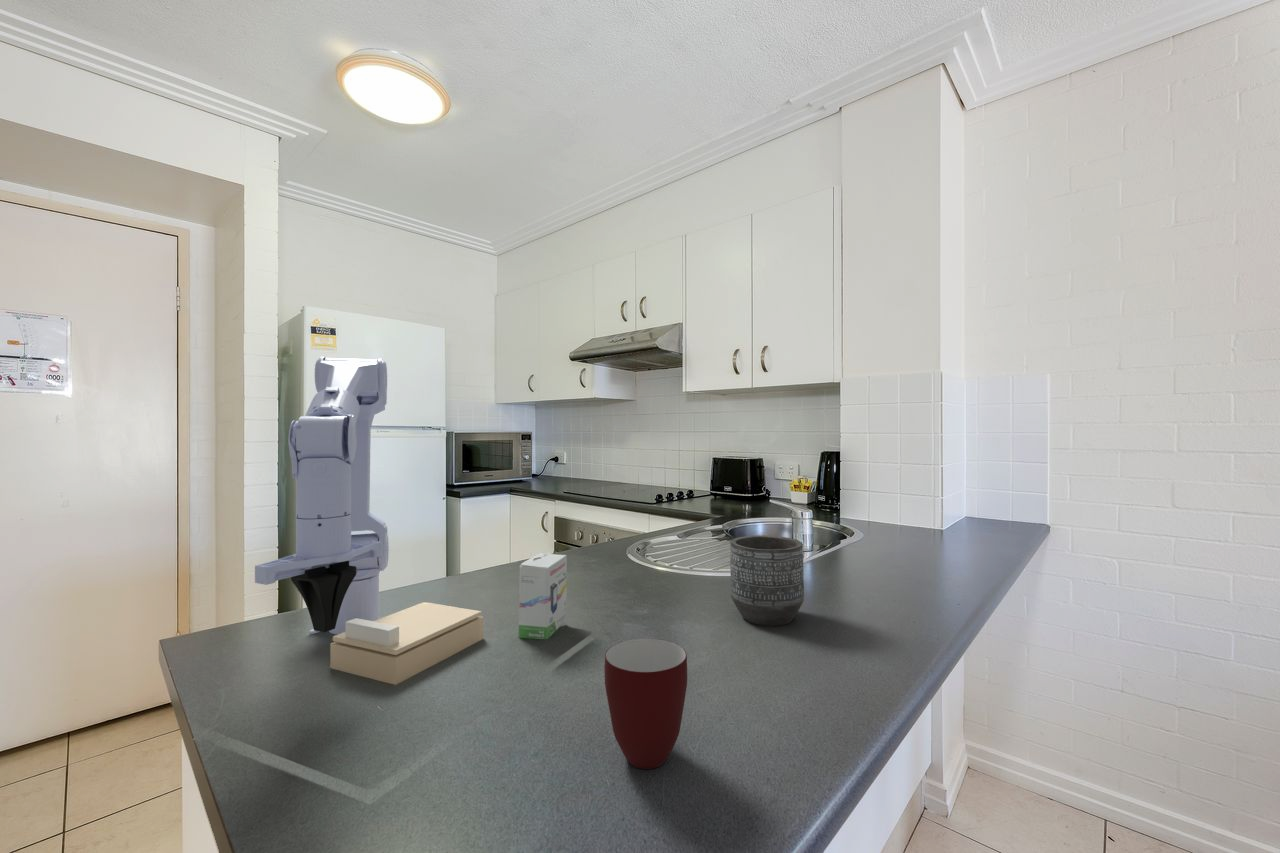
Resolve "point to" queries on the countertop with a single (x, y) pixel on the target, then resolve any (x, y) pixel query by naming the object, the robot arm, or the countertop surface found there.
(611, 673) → the mug
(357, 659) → the tray
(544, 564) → the ink box
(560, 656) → the countertop surface
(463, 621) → the mailer lid
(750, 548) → the planter
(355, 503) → the robot arm
